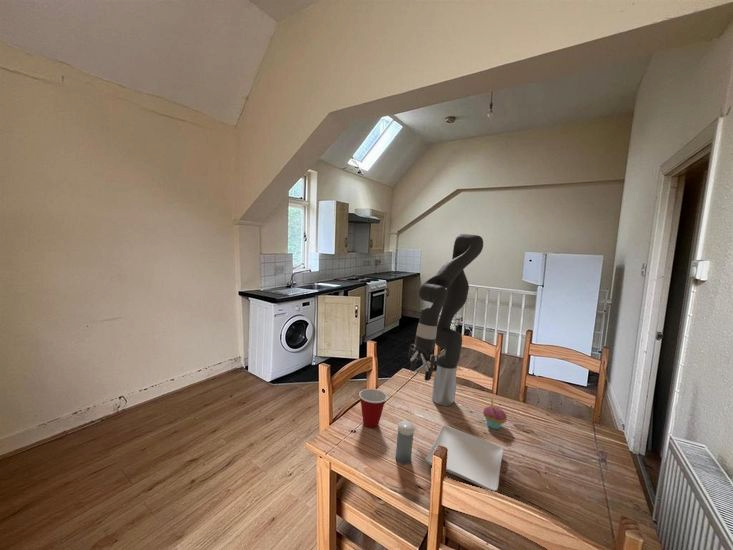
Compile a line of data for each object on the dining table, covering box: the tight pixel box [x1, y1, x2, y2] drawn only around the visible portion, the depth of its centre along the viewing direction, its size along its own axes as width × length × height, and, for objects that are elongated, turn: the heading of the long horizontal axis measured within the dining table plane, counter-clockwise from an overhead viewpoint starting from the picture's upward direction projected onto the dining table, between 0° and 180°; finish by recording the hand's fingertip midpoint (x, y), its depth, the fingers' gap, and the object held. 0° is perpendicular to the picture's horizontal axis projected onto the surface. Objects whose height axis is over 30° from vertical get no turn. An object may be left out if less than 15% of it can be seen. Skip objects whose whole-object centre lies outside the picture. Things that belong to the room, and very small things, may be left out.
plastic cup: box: [358, 388, 388, 429], centre depth 112 cm, size 11×11×12 cm
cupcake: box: [483, 395, 508, 430], centre depth 116 cm, size 9×8×12 cm
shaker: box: [395, 420, 415, 465], centre depth 95 cm, size 5×5×12 cm
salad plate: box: [425, 424, 504, 492], centre depth 97 cm, size 21×21×3 cm
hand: (419, 375), depth 115 cm, fingers open, 8 cm apart
